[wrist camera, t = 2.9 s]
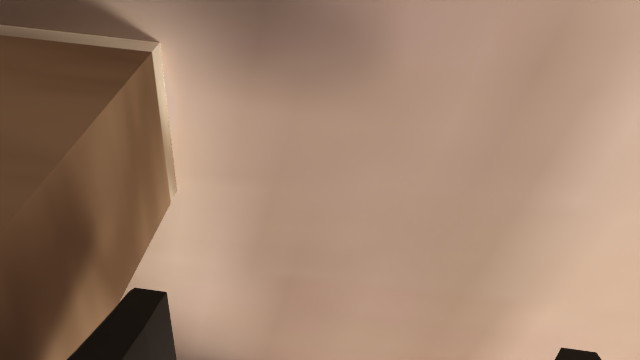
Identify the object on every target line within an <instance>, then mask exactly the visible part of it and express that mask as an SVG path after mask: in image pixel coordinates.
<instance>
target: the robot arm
mask: <svg viewBox="0 0 640 360" xmlns="http://www.w3.org/2000/svg"><path fill="white" fill-rule="evenodd" d="M67 360H176V354H175V347H174V340H173V333H172V326H171V319H170V312H169V305H168V298H167V292H161V291H154V290H147V289H140V288H134V289H132V290H131V291H129V292H128V294H127V295H126V296H125V297H124V298H123V299H122V300H121V302H120V303H119V304H118V305H117V306H116V307H115V308H114V309H113V311H112V312H111V313H110V314H109V315H108V316H107V317H106V318H105V319H104V321H103V322H102V323H101V324H100V325H99V326H98V327H97V328H96V329H95V330H94V331H93V333H92V334H91V335H90V336H89V337H88V338H87V339H86V340H85V341H84V342H83V343H82V344H81V345H80V346H79V347H78V349H77V350H76V351H75V352H74V353H73V354H72V355H71V356H70V357H69V358H68V359H67ZM555 360H601V358H600V357H599V356H598V354H597V353H596V352H589V351H581V350H574V349H567V348H561V349H560V351H559V353H558V355H557V357H556V359H555Z"/></svg>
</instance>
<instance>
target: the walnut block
mask: <svg viewBox="0 0 640 360" xmlns="http://www.w3.org/2000/svg"><path fill="white" fill-rule="evenodd" d="M176 192H177V186H176V178H175V169H174V160H173V152H172V143H171V134H170V125H169V117H168V108H167V99H166V91H165V82H164V73H163V64H162V56H161V47H160V42H152V41H143V40H134V39H125V38H116V37H107V36H98V35H89V34H80V33H71V32H62V31H53V30H44V29H35V28H26V27H17V26H8V25H0V360H67V359H68V358H69V357H70V356H71V355H72V354H73V353H74V352H75V351H76V350H77V349H78V347H79V346H80V345H81V344H82V343H83V342H84V341H85V340H86V339H87V338H88V337H89V336H90V335H91V334H92V333H93V331H94V330H95V329H96V328H97V327H98V326H99V325H100V324H101V323H102V322H103V321H104V319H105V318H106V317H107V316H108V315H109V314H110V313H111V312H112V311H113V309H114V308H115V307H116V306H117V305H118V303H119V301H120V299H121V298H122V296H123V294H124V292H125V290H126V288H127V286H128V284H129V282H130V280H131V278H132V276H133V274H134V272H135V271H136V269H137V267H138V265H139V263H140V261H141V259H142V257H143V255H144V253H145V251H146V249H147V247H148V246H149V244H150V242H151V240H152V238H153V236H154V234H155V232H156V230H157V228H158V226H159V224H160V222H161V221H162V219H163V217H164V215H165V213H166V211H167V209H168V207H169V205H170V203H171V201H172V199H173V197H174V196H175V194H176Z"/></svg>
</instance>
